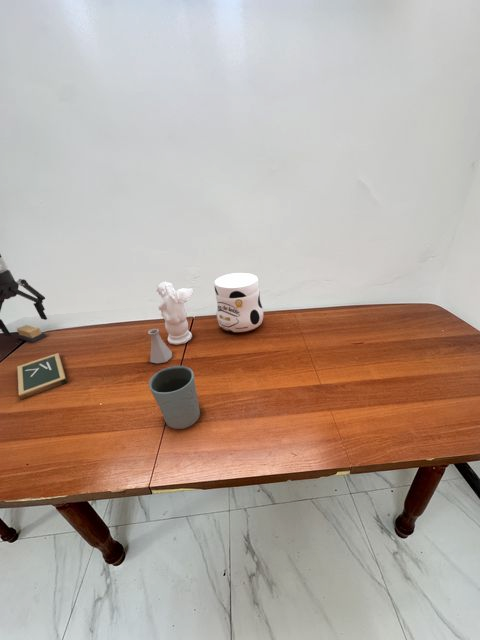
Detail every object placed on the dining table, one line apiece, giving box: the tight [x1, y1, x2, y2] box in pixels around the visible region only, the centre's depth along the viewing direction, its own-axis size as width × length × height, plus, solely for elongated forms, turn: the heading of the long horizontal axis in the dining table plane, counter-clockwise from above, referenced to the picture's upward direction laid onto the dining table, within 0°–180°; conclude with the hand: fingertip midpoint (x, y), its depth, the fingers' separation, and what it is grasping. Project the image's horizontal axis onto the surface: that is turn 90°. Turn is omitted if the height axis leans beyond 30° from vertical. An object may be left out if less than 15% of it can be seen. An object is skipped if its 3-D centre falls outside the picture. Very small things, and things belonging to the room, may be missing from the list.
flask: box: [147, 328, 173, 364], centre depth 94 cm, size 7×7×10 cm
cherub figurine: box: [156, 281, 195, 346], centre depth 100 cm, size 12×12×22 cm
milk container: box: [213, 272, 264, 334], centre depth 107 cm, size 17×17×18 cm
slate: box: [16, 352, 68, 400], centre depth 91 cm, size 18×12×2 cm, turn 37°
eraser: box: [16, 324, 47, 344], centre depth 113 cm, size 9×5×4 cm, turn 66°
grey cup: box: [148, 365, 201, 430], centre depth 70 cm, size 10×10×12 cm
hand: (27, 326), depth 112 cm, fingers open, 13 cm apart
